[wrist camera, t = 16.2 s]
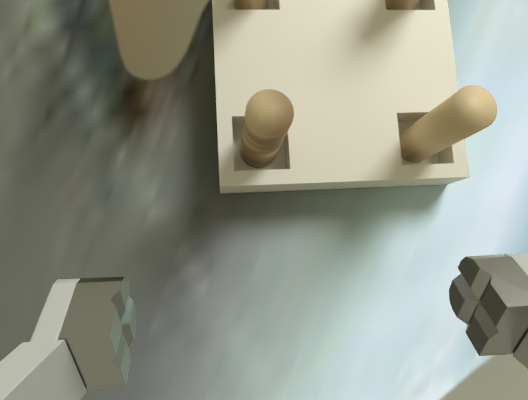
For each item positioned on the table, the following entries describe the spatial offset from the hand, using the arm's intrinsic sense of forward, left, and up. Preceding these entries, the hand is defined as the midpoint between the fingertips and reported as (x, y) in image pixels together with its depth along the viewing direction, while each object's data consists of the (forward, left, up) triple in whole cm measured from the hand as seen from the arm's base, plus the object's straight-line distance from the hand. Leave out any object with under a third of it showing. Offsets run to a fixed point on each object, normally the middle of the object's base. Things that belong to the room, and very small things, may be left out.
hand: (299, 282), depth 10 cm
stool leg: (+2, +11, -30) cm, 32 cm away
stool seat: (+10, +19, -31) cm, 38 cm away
